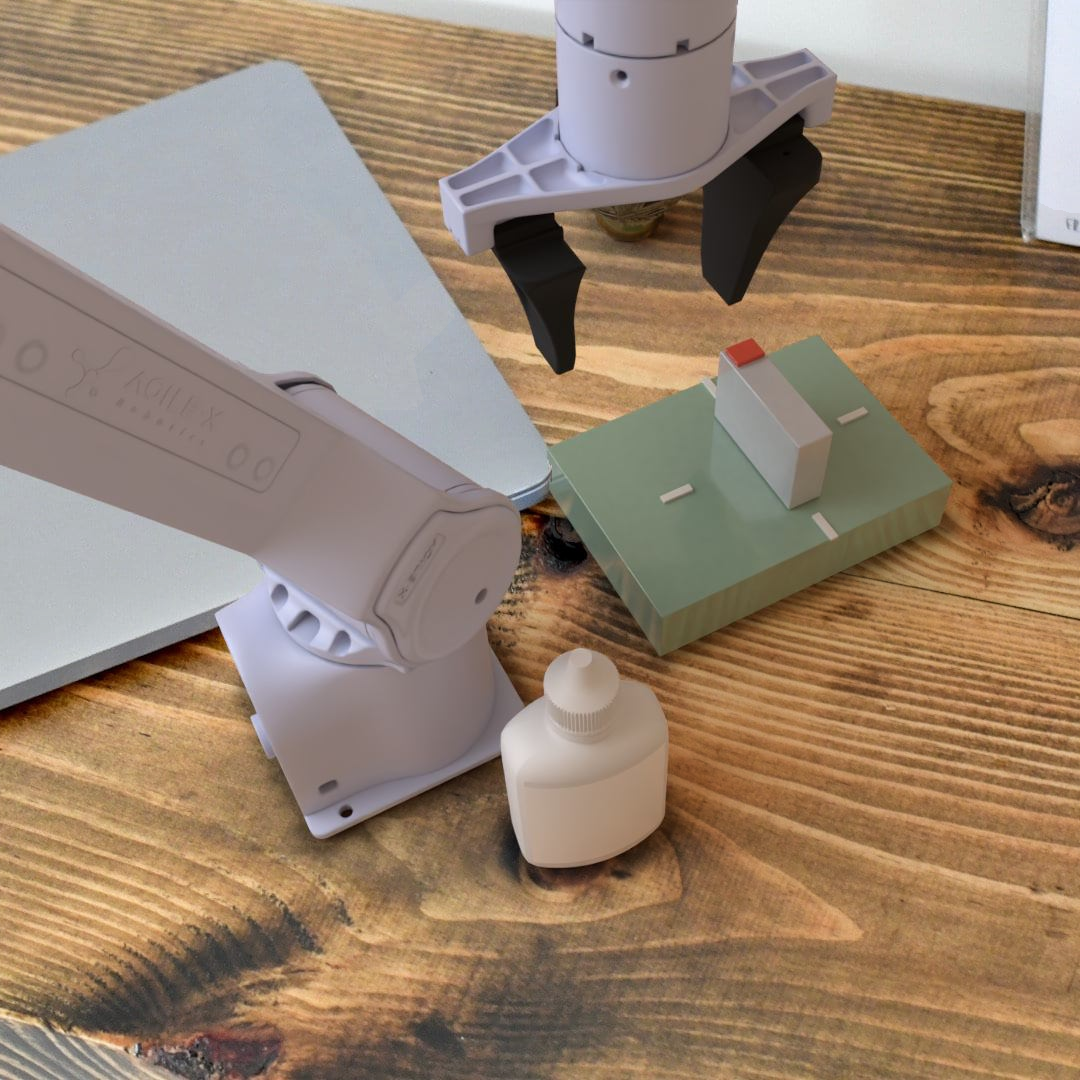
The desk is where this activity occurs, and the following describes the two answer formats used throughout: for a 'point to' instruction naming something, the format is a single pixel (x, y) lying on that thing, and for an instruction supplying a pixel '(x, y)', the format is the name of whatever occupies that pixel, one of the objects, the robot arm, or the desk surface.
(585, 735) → the eye dropper bottle
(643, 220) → the cup
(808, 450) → the tap handle
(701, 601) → the plate
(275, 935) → the desk surface
